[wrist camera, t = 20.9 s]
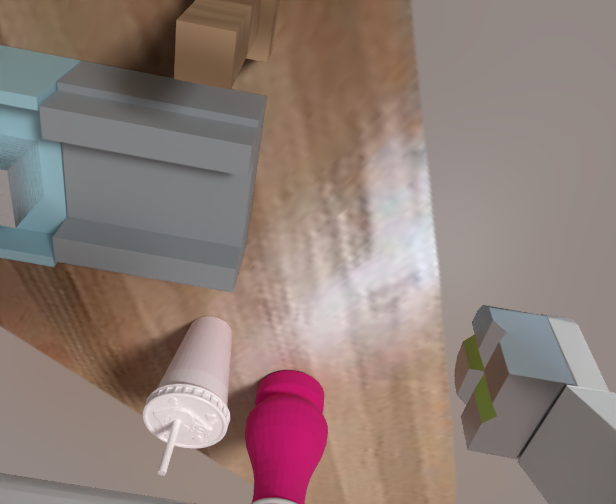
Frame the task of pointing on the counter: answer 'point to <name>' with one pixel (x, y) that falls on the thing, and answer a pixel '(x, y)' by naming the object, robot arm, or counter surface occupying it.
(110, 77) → the groove board
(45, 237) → the tray
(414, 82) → the counter surface
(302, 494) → the pepper mill
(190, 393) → the smoothie
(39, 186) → the grey cube
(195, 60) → the brown bar
